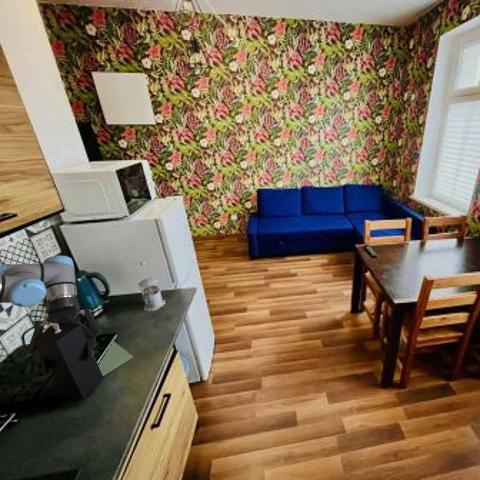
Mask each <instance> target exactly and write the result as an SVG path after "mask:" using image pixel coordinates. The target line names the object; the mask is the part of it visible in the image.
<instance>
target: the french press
mask: <svg viewBox="0 0 480 480" xmlns="http://www.w3.org/2000/svg"><path fill="white" fill-rule="evenodd" d="M145 265H146V262H145V261H141V262H140V266H142V268H143V271H144V274H145V277H146V278H145V279H142V280H141V281H140V282H139V283H138V286H139V289H140V291H141V295H142V296H141V297H142V300H143V302H144V306H143V311H145V312H155V311H157V309H158V310H160V309H161V308H160V307H162V306H163V305H164V304H165V305H166V303H165V302H166V300H164V299H163V296H162V293H161V289H160V288H159V286H158V285H156V284H158V278H155V277H148V276H147V273H146V270H145V269H146V268H145ZM142 288H143V289H142ZM165 305H164V306H165ZM164 306H163V307H164ZM163 307H162V308H163ZM159 308H160V309H159ZM154 310H155V311H154Z"/></svg>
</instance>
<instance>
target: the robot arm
mask: <svg viewBox="0 0 480 480" xmlns="http://www.w3.org/2000/svg"><path fill="white" fill-rule="evenodd" d="M75 270H76V269H75V265H74V261H73V259H72V258H71V257H69V256H67V255H56V256H49V257H47V258H45V259H44V260H43V263H13V264H12V263H6V264H0V304H10V303H11V304H12V305H14V306H16V307H21V308H29V307H32V306H35V305H37V304H39V303H40V302H42V301H43V300H44V299H45V298H46V302H47V303H46V307H47V308H46V309H47V317H46V318H45V319H43V320H42V319H41V320H35V321H34V330H33V332H32V336H31V338H30V342H29V344H28V347H27V351H26V353H27V354H31V355H35V359H36V364H37V365H40V371H41V375H47V374H50V369H49V366H48V365H47V363H46V361H45V359H44V357H43V356H42V354H41V352H40V350H39V348H38V346H37V345H36V343H35V342H34V340H33V339H34V338H36V337H37V336H39V335H40V334H42V333H44V329H45V328H44V327H46V326H47V324H50V323H56V324H58V323H59V322H66V323H74V324H81V325H82V329H83V331H84V333H85V335H86V336H87V337H86V338H87V349H88V357H89V359H93V358H94V351H93V347H96V345H97V338H96V337H98V335H102V333H103V331H102V329H101V328H100V326H99V324H98V323H97V321H96V320H95V317H94V316H93V313H92V309H91V308H89V307H86V308H84V309H80V308H79V299H78V291H77V284H76V274H75ZM81 315H82V316H83V317H85V318H86V320H87V322H88V323H89V324H90V326H91V328H92V329H93V331H92V330H91V329H90V328H89V327H87V326H86V325H84V324H83V323H82V322H81V321H80V320H79V318H80V316H81ZM51 327H53V326H52V325H51V324H50V325H49V326H48V328H47V330H48V329H50V328H51Z"/></svg>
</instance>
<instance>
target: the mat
mask: <svg viewBox="0 0 480 480" xmlns="http://www.w3.org/2000/svg"><path fill="white" fill-rule="evenodd" d="M133 357H134V356H133V354H130V353H129V351H127V350H126V349H125V348H123V347H122V346H121V345H119V344H118V343H117V342H116V341H114V342H113V343H112V345H111V346H110V347H109V349H108V351H107V352H106V354H105V356H104V357H103V359H102V360H101V361H100V363H99V365H98V366H99V368H100V371H101V373H102V375H103V376H105V375H107V374H108V373H110V372H111V371H113V370H115V369H116V368H117V367H119V366H121V365H122V364H124V363H126V362H127V361H129V360H130V359H132V358H133Z"/></svg>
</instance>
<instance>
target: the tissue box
mask: <svg viewBox="0 0 480 480" xmlns="http://www.w3.org/2000/svg"><path fill="white" fill-rule="evenodd" d="M49 324H50V325H52V326H53V327H51V328H50V329H48V328H47V330H45V331H43V333H42V334H40V335H39V336H37V337H36V338H34V339H33V340H34V342H35V343H36V345H37V346H38V348H39V350H40V352H41V354H42V356H43V357H44V359H45V361H46V363H47V365H48V366H49V372H50V374H51V375H52V377H53V379H54V380H55V382H56V384H57V386H58V388H59V390H60V392H61V393H62V395H63V394H65V395H68V396H67V397H70V398H77V399H81V400H84V399H85V398H86V397H87V396H89V395H90V394H91V393H92V392H93V391H94V390H95V389H96V388H97V387H98V386H99V385H100V384H101V383H102V382H103V381H104V380H105V378H104V375H102V373H101V371H100V368H99V366H98V364H97V361H96V359H95V357H94V358H93V359H89V357H88V349H87V338H88V337H87V335H86V334H85V333H84V331H83V329H82V325H81V324H74V323H66V322H59V323H58V324H56V323H49Z"/></svg>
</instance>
